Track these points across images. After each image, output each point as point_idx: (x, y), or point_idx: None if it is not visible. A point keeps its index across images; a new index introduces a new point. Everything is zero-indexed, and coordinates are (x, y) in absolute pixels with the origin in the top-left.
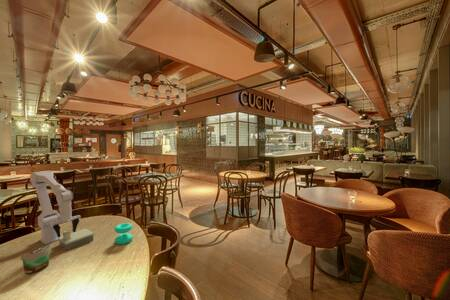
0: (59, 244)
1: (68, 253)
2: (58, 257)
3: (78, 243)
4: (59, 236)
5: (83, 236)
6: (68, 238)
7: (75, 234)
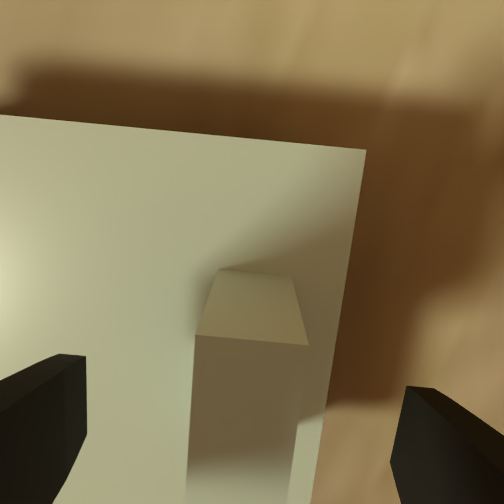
0: None
1: (363, 21)
2: (498, 32)
3: None
4: (435, 393)
5: (6, 135)
6: (254, 281)
7: None
